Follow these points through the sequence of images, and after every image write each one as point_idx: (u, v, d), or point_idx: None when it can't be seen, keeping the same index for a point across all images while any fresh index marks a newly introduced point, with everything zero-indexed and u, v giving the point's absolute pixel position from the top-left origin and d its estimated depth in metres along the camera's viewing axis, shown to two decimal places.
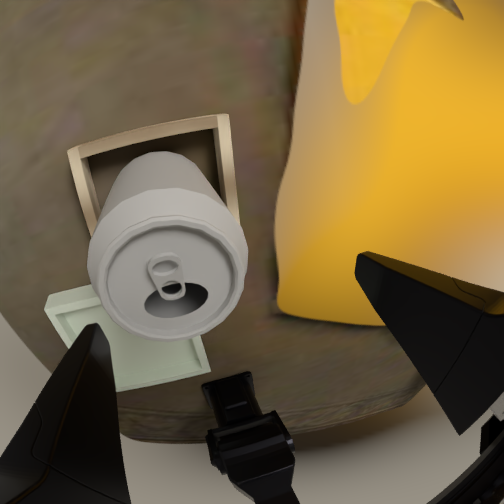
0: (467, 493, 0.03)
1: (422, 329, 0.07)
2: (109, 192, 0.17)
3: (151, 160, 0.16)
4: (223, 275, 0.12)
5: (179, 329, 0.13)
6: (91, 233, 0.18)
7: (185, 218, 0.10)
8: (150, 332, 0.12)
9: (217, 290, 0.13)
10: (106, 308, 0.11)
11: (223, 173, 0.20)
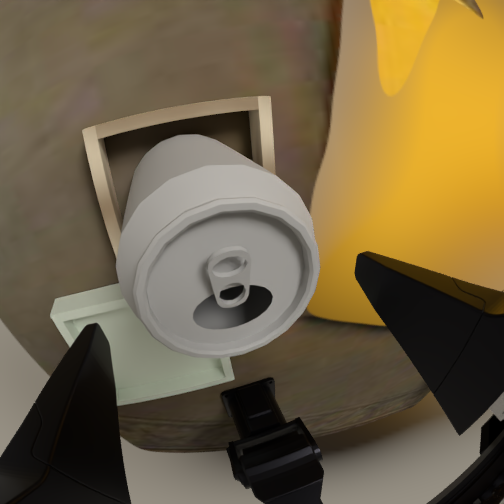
0: (467, 493, 0.03)
1: (422, 329, 0.07)
2: None
3: (186, 140, 0.13)
4: (293, 275, 0.10)
5: (232, 342, 0.11)
6: (108, 227, 0.16)
7: (262, 201, 0.08)
8: (198, 347, 0.10)
9: (283, 293, 0.10)
10: (145, 320, 0.08)
11: (262, 161, 0.18)
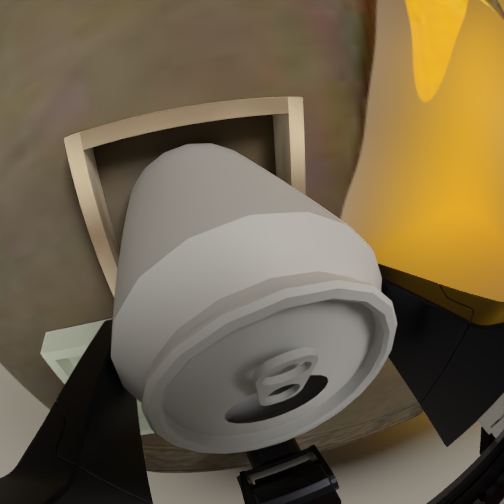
0: (467, 493, 0.03)
1: (407, 338, 0.07)
2: (129, 202, 0.11)
3: (200, 154, 0.10)
4: (356, 355, 0.07)
5: (271, 429, 0.08)
6: (100, 260, 0.13)
7: (348, 284, 0.05)
8: (229, 443, 0.07)
9: (341, 376, 0.07)
10: (161, 434, 0.05)
11: (290, 177, 0.14)
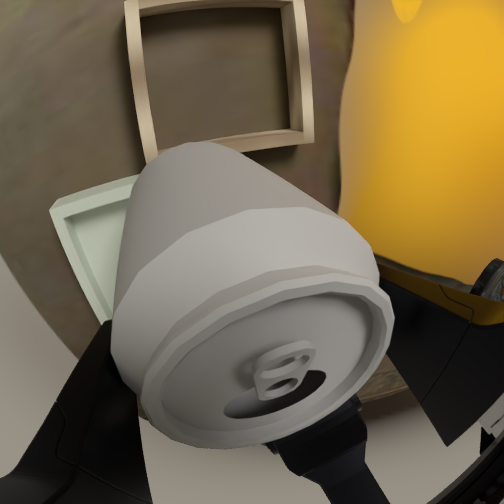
0: (467, 493, 0.03)
1: (407, 338, 0.07)
2: (129, 200, 0.11)
3: (200, 152, 0.10)
4: (354, 351, 0.07)
5: (269, 425, 0.08)
6: (135, 93, 0.13)
7: (344, 277, 0.05)
8: (228, 439, 0.07)
9: (339, 371, 0.07)
10: (160, 428, 0.05)
11: (297, 45, 0.15)
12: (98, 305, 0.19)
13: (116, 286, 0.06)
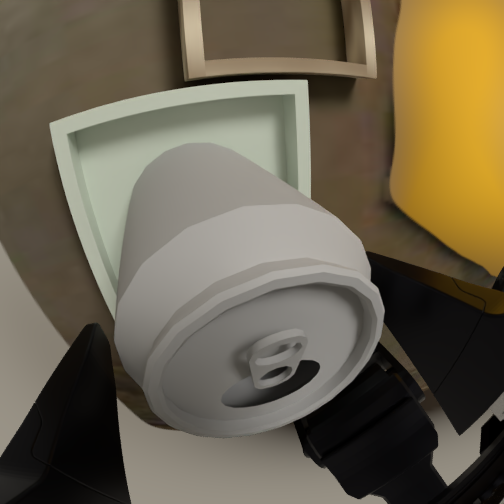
0: (467, 493, 0.03)
1: (422, 329, 0.07)
2: (131, 199, 0.12)
3: (199, 153, 0.11)
4: (347, 342, 0.07)
5: (266, 415, 0.08)
6: None
7: (333, 269, 0.05)
8: (226, 428, 0.07)
9: (332, 362, 0.08)
10: (160, 415, 0.06)
11: None
12: (100, 265, 0.14)
13: (120, 279, 0.07)
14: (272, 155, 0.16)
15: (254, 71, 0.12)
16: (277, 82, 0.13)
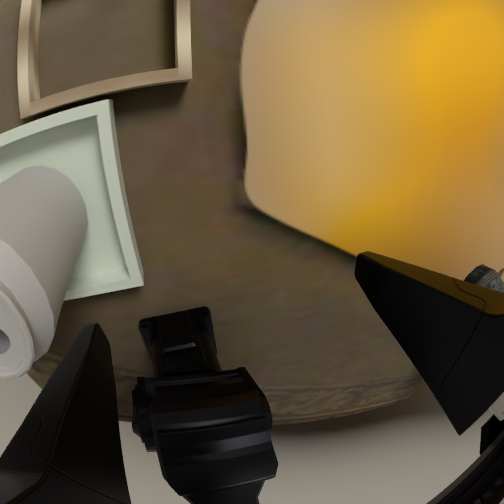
0: (467, 493, 0.03)
1: (422, 329, 0.07)
2: None
3: (7, 180, 0.11)
4: (13, 321, 0.08)
5: (1, 367, 0.08)
6: (19, 48, 0.09)
7: None
8: None
9: (15, 335, 0.08)
10: None
11: None
12: None
13: None
14: (95, 169, 0.16)
15: (63, 102, 0.12)
16: (81, 108, 0.13)
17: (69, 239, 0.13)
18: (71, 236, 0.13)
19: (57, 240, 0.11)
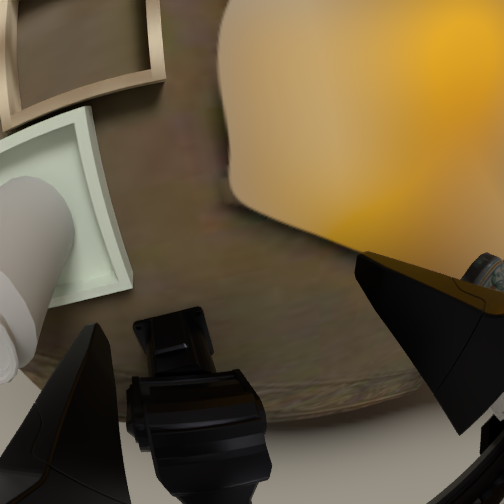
0: (467, 493, 0.03)
1: (422, 329, 0.07)
2: None
3: None
4: None
5: None
6: None
7: None
8: None
9: (0, 343, 0.08)
10: None
11: None
12: None
13: None
14: (78, 176, 0.16)
15: (42, 113, 0.12)
16: (58, 117, 0.13)
17: (51, 247, 0.12)
18: (53, 244, 0.13)
19: (38, 249, 0.11)
